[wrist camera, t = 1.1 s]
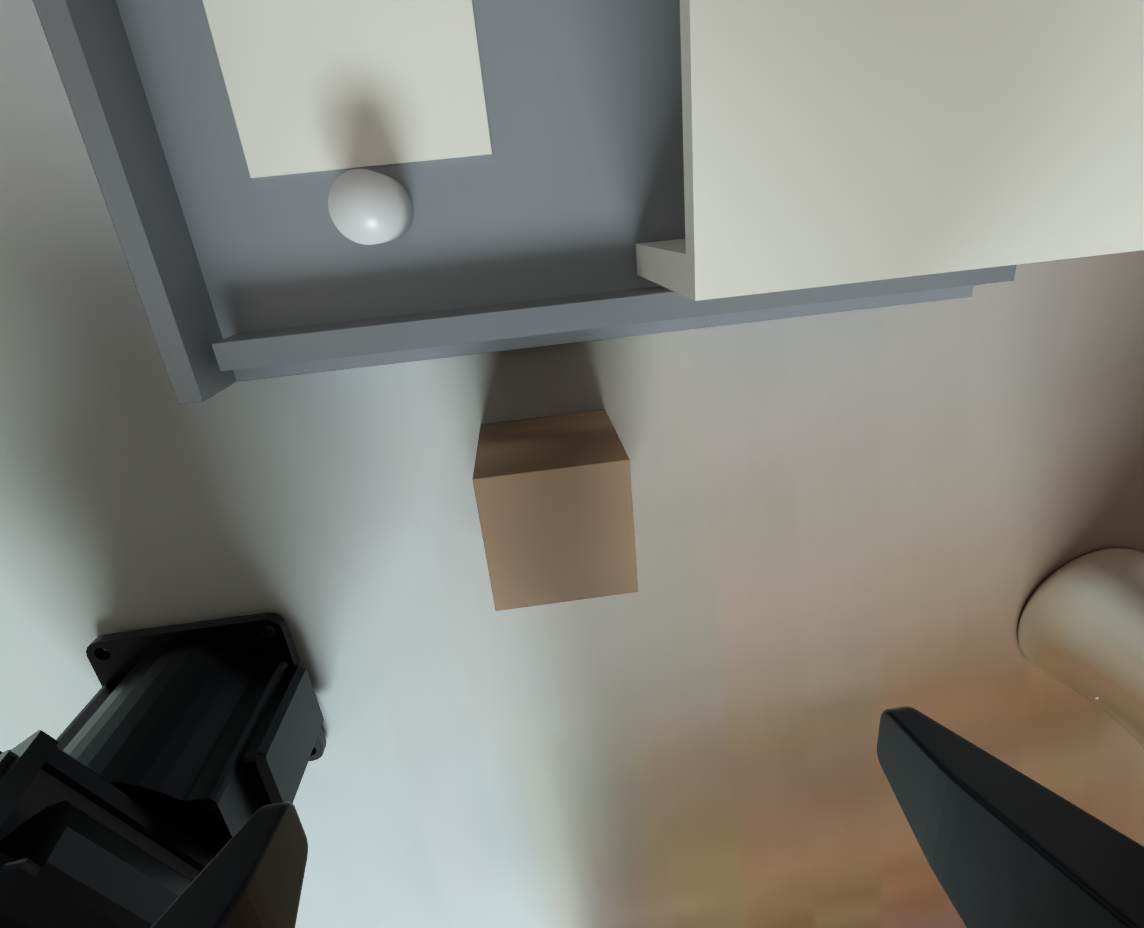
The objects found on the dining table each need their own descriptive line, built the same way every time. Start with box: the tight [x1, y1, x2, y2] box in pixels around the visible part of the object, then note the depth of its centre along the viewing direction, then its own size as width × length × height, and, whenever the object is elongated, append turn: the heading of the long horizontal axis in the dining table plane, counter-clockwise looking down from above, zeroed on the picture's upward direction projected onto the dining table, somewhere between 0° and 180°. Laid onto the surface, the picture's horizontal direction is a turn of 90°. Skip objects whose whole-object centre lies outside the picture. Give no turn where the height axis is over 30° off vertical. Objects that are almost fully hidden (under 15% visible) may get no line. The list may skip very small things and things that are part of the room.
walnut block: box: [473, 409, 638, 611], centre depth 18 cm, size 4×4×4 cm
